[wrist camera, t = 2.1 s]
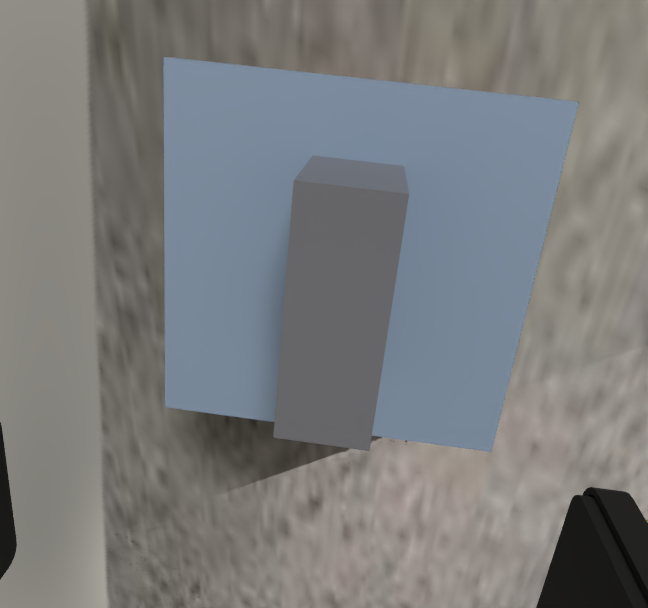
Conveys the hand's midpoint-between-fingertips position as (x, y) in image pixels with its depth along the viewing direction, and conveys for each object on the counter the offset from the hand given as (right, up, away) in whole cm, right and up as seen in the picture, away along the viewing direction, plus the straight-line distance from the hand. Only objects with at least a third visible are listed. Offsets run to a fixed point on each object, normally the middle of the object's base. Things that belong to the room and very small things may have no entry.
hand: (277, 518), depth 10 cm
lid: (+2, +5, +13) cm, 15 cm away
